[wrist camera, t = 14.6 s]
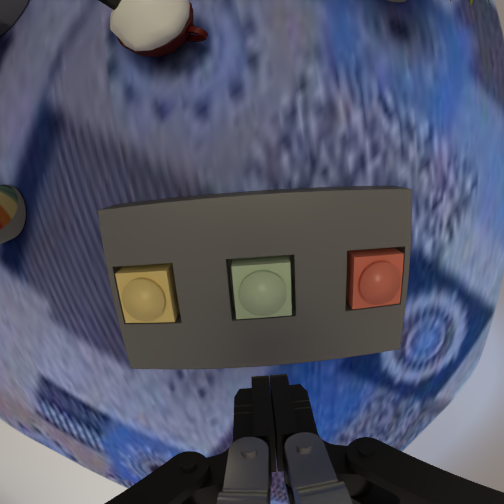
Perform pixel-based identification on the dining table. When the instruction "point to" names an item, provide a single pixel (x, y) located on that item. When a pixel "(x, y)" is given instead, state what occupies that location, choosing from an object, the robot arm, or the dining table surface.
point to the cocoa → (153, 25)
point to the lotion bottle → (11, 213)
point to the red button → (374, 277)
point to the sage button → (262, 286)
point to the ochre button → (148, 293)
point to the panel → (259, 245)
